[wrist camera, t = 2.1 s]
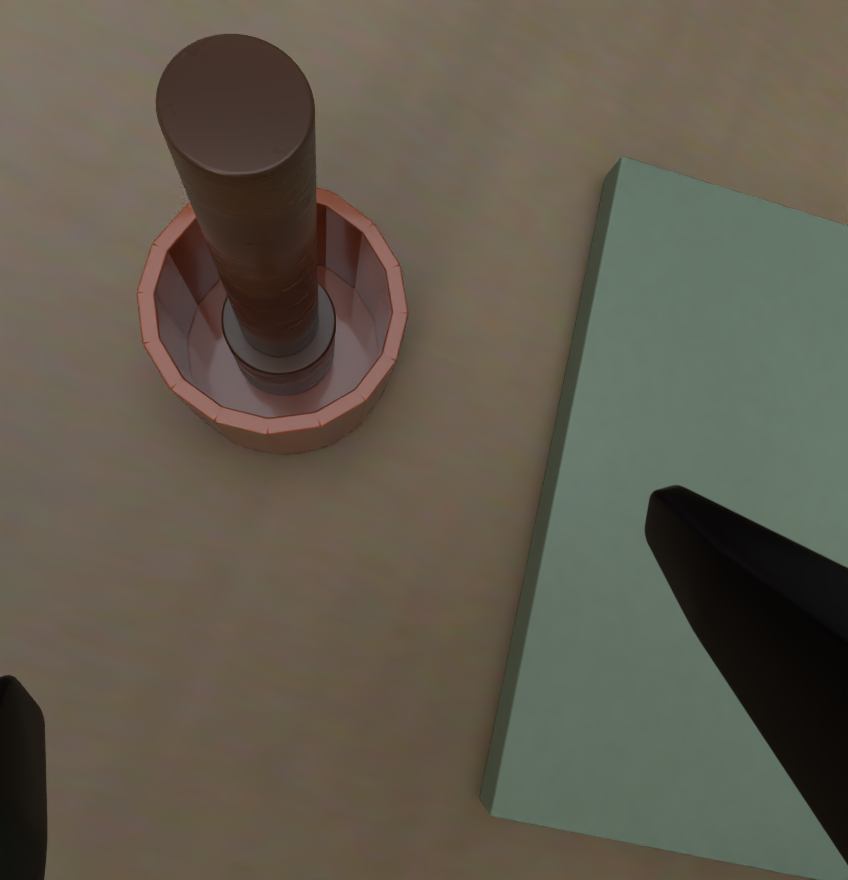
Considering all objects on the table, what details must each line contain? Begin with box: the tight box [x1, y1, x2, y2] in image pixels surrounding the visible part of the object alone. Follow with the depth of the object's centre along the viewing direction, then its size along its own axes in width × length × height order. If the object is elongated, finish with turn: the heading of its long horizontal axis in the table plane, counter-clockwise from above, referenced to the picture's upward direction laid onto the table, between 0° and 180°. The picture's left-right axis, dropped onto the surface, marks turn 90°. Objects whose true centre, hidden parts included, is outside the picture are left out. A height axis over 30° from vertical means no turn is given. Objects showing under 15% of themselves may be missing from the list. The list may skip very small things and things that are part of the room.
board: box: [480, 157, 848, 880], centre depth 24 cm, size 22×13×2 cm, turn 167°
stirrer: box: [156, 34, 336, 395], centre depth 16 cm, size 3×3×13 cm
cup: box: [137, 187, 408, 455], centre depth 21 cm, size 7×7×5 cm
